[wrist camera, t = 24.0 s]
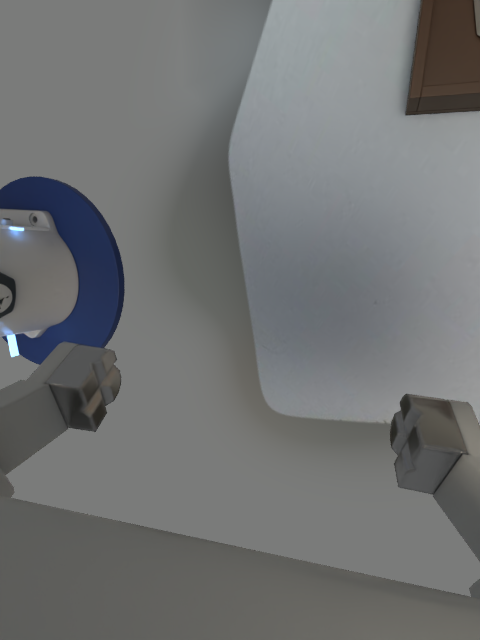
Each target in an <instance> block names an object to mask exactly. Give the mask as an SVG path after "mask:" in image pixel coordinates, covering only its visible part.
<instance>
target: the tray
mask: <svg viewBox="0 0 480 640" xmlns="http://www.w3.org/2000/svg"><path fill="white" fill-rule="evenodd" d="M465 111H480V36H479V35H477V31H476V19H475V8H474V0H421V4H420V12H419V19H418V26H417V34H416V41H415V49H414V56H413V63H412V71H411V78H410V86H409V93H408V100H407V108H406V115H416V114H432V113H448V112H465Z"/></svg>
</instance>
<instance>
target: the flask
mask: <svg viewBox="0 0 480 640" xmlns="http://www.w3.org/2000/svg"><path fill="white" fill-rule="evenodd" d="M474 8H475V19H476V31H477V35H479V36H480V0H474Z"/></svg>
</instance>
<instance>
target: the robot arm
mask: <svg viewBox="0 0 480 640" xmlns="http://www.w3.org/2000/svg"><path fill="white" fill-rule="evenodd" d="M78 290H79V278H78V271H77V267H76V263H75V260H74V258H73V256H72V253H71V251H70V250H69V248H68V246H67V245H66V243H65V242H64V241H63V240H62V238H61V237H60V235H59V234H58V232H57V229H56V226H55V223H54V220H53V218H52V216H51V214H50V213H49V212H47V211H38V210H17V209H0V337H2V336H7V338H8V343H9V348H10V353H11V356H12V357H13V356H16V355H19V352H18V348H17V343H16V338H15V334H21V333H24V334H25V335H27V336H28V337H30V338H37V337H40V336H41V335H42V334H43V333H44V332H45V331H46V330H47V328H49V327H51V326H53V325H56V324H59V323H61V322H62V321H64V320H65V319H66V318H67V317H68V316H69V315H70V313H71V312H72V310H73V308H74V306H75V304H76V301H77V297H78ZM116 360H117V358H116V355H115V352H114V351H113V350H110V349H105V348H99V347H94V346H88V345H83V344H75V343H70V342H62V343H60V344H58V345H57V346H56V348H55V349H54V350H53V351H52V352H51V353H50V354H49V355H48V357H47V358H46V359H45V360H44V361H43V362H42V363H41V364H40V366H39V367H38V368H37V369H36V370H35V371H34V373H32V374H31V376H30V377H29V378H28V379H27V380H26V381H25V380H20V381H18V382H16V383H14V384H12V385H9V386H8V387H5V388H3V389H1V390H0V640H480V579H479V580H478V581H476V582H475V583H474V584H473V585H472V586H471V587H470V588H469V589H470V593H471V597H469V596H465V595H460V594H455V593H451V592H446V591H441V590H437V589H432V588H427V587H423V586H417V585H414V584H409V583H404V582H399V581H395V580H390V579H386V578H381V577H376V576H371V575H367V574H362V573H358V572H353V571H349V570H344V569H339V568H334V567H330V566H325V565H321V564H316V563H311V562H307V561H302V560H297V559H293V558H288V557H284V556H278V555H274V554H270V553H264V552H260V551H256V550H251V549H246V548H242V547H237V546H232V545H228V544H223V543H218V542H214V541H209V540H205V539H200V538H195V537H190V536H186V535H181V534H176V533H172V532H167V531H163V530H158V529H153V528H148V527H144V526H140V525H135V524H130V523H126V522H121V521H116V520H112V519H107V518H102V517H98V516H93V515H88V514H84V513H79V512H74V511H70V510H64V509H60V508H56V507H51V506H46V505H42V504H37V503H32V502H28V501H23V500H18V499H14V498H11V497H12V495H13V494H14V487H13V486H12V484H11V483H10V482H9V480H8V478H7V477H6V476H5V475H6V474H8V473H9V472H10V471H11V470H13V469H14V468H16V467H17V466H18V465H20V464H21V463H23V462H24V461H25V460H27V459H28V458H29V457H31V456H32V455H33V454H35V453H36V452H37V451H39V450H40V449H42V448H43V447H44V446H46V445H47V444H48V443H50V442H51V441H52V440H54V439H55V438H57V437H58V436H59V435H60V434H62V433H63V432H64V431H66V430H67V429H68V428H74V429H81V430H88V431H94V432H96V430H97V429H98V427H99V425H100V424H101V422H102V420H103V419H104V417H105V415H106V414H107V412H106V407H105V406H106V405H108V404H110V403H111V402H113V401H114V400H115V398H116V396H117V394H118V392H119V389H120V385H121V374H120V370H119V369H118V368H117V367H116V366H115V365H114V363H115V362H116ZM400 407H401V411H399V412H397V413H395V414H394V417H393V419H392V422H391V429H390V441H391V447H392V449H393V450H394V452H395V453H396V454H397V455H398V457H397V459H396V461H395V463H394V465H395V471H396V477H397V482H398V487H400V488H404V489H409V490H415V491H419V492H424V493H429V494H433V497H434V498H435V500H436V501H437V503H438V504H439V506H440V507H441V508H442V510H443V511H444V512H445V514H446V515H447V517H448V518H449V519H450V521H451V522H452V523H453V525H454V526H455V528H456V529H457V531H458V532H459V533H460V535H461V536H462V537H463V539H464V540H465V542H466V543H467V544H468V546H469V547H470V549H471V550H472V551H473V553H474V554H475V556H476V557H477V558H478V560H479V561H480V425H479V423H478V421H477V418H476V416H475V413H474V411H473V409H472V406H471V405H470V404H469V403H468V402H461V401H454V400H445V399H440V398H433V397H426V396H419V395H412V394H405V395H404V396H403V397H402V399H401V401H400Z"/></svg>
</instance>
